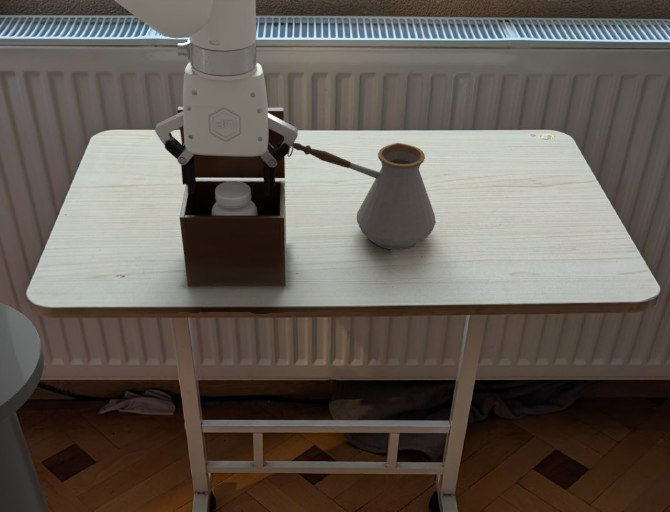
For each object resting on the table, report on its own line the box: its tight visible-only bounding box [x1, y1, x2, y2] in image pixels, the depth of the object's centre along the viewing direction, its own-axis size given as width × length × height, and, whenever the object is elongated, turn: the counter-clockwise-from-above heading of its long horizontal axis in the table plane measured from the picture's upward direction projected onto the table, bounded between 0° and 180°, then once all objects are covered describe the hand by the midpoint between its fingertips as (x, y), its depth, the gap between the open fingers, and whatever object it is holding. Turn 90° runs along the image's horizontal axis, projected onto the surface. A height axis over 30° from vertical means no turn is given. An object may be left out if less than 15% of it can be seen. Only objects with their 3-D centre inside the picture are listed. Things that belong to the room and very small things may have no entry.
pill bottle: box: [212, 181, 257, 216], centre depth 111 cm, size 6×6×11 cm
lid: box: [177, 106, 286, 179], centre depth 109 cm, size 10×13×5 cm
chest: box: [179, 178, 287, 287], centre depth 112 cm, size 10×13×11 cm
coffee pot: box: [286, 142, 437, 251], centre depth 117 cm, size 21×12×15 cm, turn 96°
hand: (229, 189), depth 107 cm, fingers open, 9 cm apart
